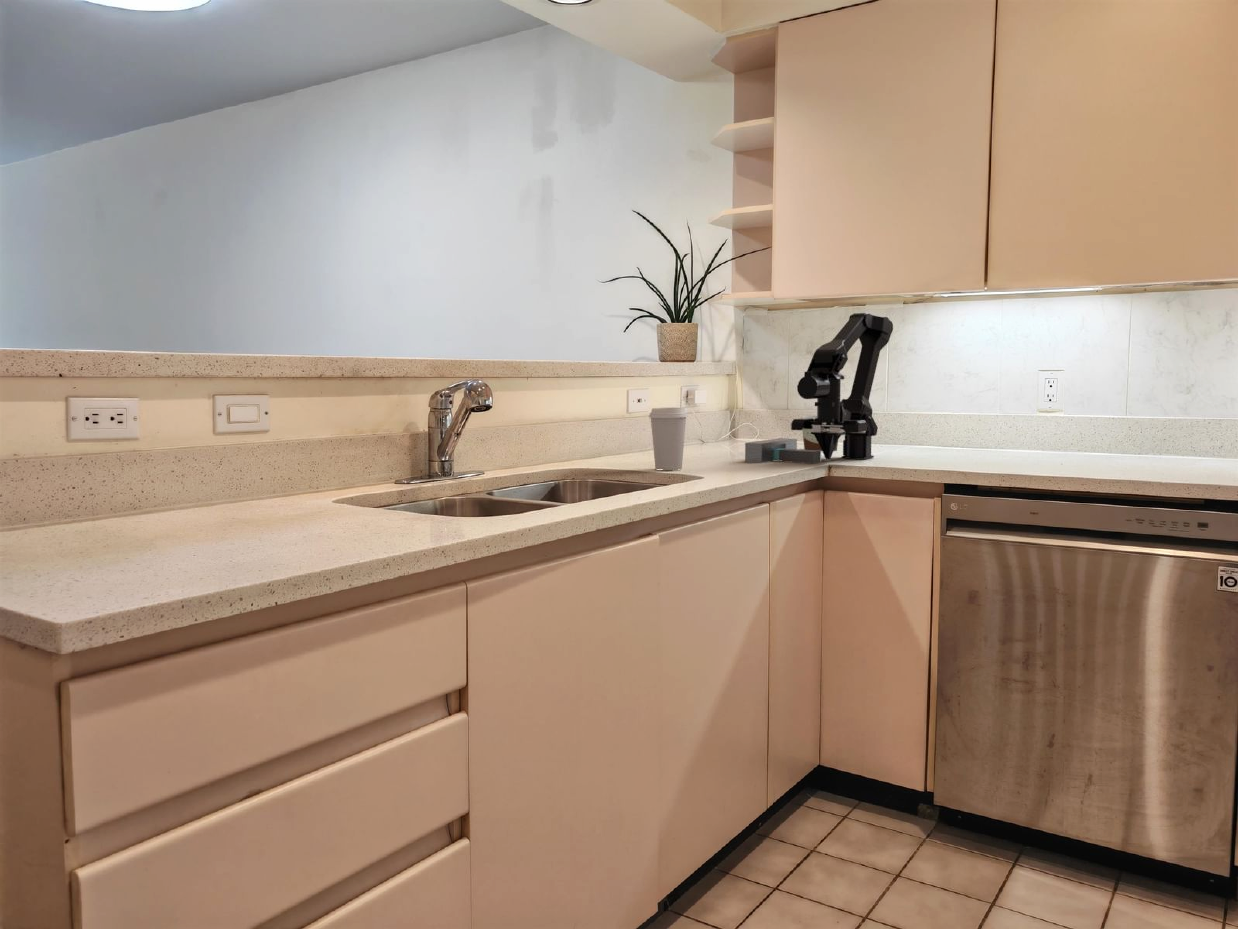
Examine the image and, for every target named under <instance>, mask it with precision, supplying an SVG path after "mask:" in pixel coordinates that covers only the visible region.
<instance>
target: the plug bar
mask: <svg viewBox="0 0 1238 929" xmlns="http://www.w3.org/2000/svg"><path fill="white" fill-rule="evenodd" d="M821 452H822V451H819V450H804V449H800V448H799V449H798V448H797V449H783V448H775V449H774V460H782V461H781V462H786V461H792V462H791V463H802V462H804V464H805V463H806V464H816V463H821V456H822V455H821Z"/></svg>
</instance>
